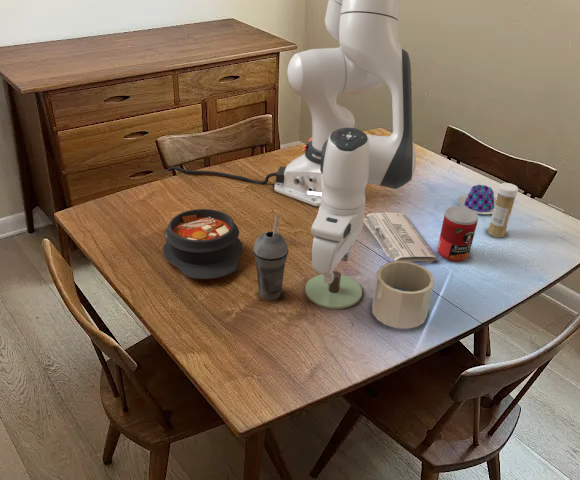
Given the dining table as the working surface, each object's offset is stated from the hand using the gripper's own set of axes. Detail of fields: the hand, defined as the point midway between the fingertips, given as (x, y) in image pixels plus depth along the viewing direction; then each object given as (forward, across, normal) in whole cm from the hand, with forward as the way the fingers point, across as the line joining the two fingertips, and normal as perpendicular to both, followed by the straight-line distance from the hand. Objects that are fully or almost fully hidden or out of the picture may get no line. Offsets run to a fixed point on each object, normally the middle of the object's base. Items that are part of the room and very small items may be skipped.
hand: (337, 270), depth 129 cm
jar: (+7, 0, +14) cm, 16 cm away
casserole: (+6, 0, -34) cm, 34 cm away
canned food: (+7, -29, +20) cm, 36 cm away
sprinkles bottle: (+6, -44, +28) cm, 53 cm away
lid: (+6, 0, 0) cm, 6 cm away
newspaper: (+6, -28, +6) cm, 29 cm away
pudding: (+6, -57, +21) cm, 61 cm away
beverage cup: (+7, +7, -12) cm, 16 cm away
